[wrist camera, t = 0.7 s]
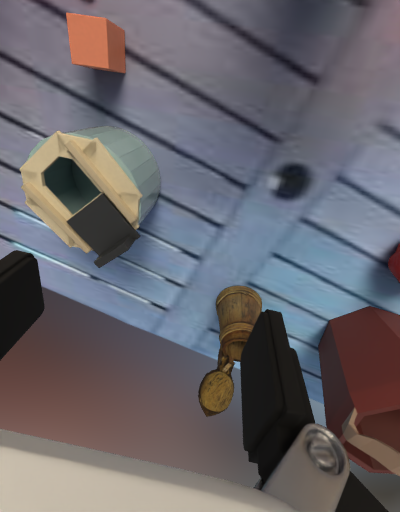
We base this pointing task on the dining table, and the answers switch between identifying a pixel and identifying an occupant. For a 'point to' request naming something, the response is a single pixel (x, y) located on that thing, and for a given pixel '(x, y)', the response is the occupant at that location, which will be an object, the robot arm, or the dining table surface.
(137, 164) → the blue-green round container
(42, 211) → the lid
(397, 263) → the pomegranate
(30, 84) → the dining table surface
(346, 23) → the dining table surface
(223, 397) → the wooden mug
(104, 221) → the slider
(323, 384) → the bucket
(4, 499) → the robot arm
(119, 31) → the block
